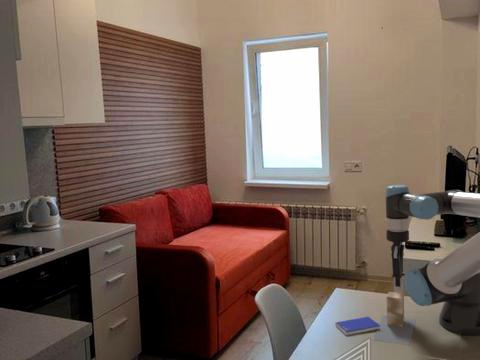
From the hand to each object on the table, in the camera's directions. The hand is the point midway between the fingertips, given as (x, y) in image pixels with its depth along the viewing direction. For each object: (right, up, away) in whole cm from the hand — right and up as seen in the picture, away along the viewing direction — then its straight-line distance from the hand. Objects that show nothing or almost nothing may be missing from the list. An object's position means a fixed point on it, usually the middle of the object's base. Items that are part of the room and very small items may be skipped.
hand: (398, 294), depth 167 cm
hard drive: (-16, -10, -8) cm, 21 cm away
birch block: (-3, -8, -6) cm, 11 cm away
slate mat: (-5, -9, -11) cm, 15 cm away
